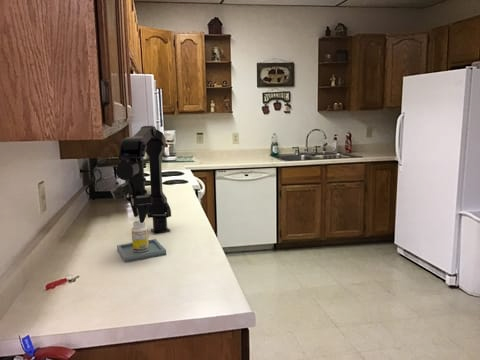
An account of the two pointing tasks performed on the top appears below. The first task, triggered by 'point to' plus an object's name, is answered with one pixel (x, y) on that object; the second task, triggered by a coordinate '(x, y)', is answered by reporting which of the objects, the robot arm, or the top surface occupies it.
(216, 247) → the top surface
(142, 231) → the supplement bottle
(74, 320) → the top surface
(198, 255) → the top surface
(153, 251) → the tray
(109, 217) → the top surface
